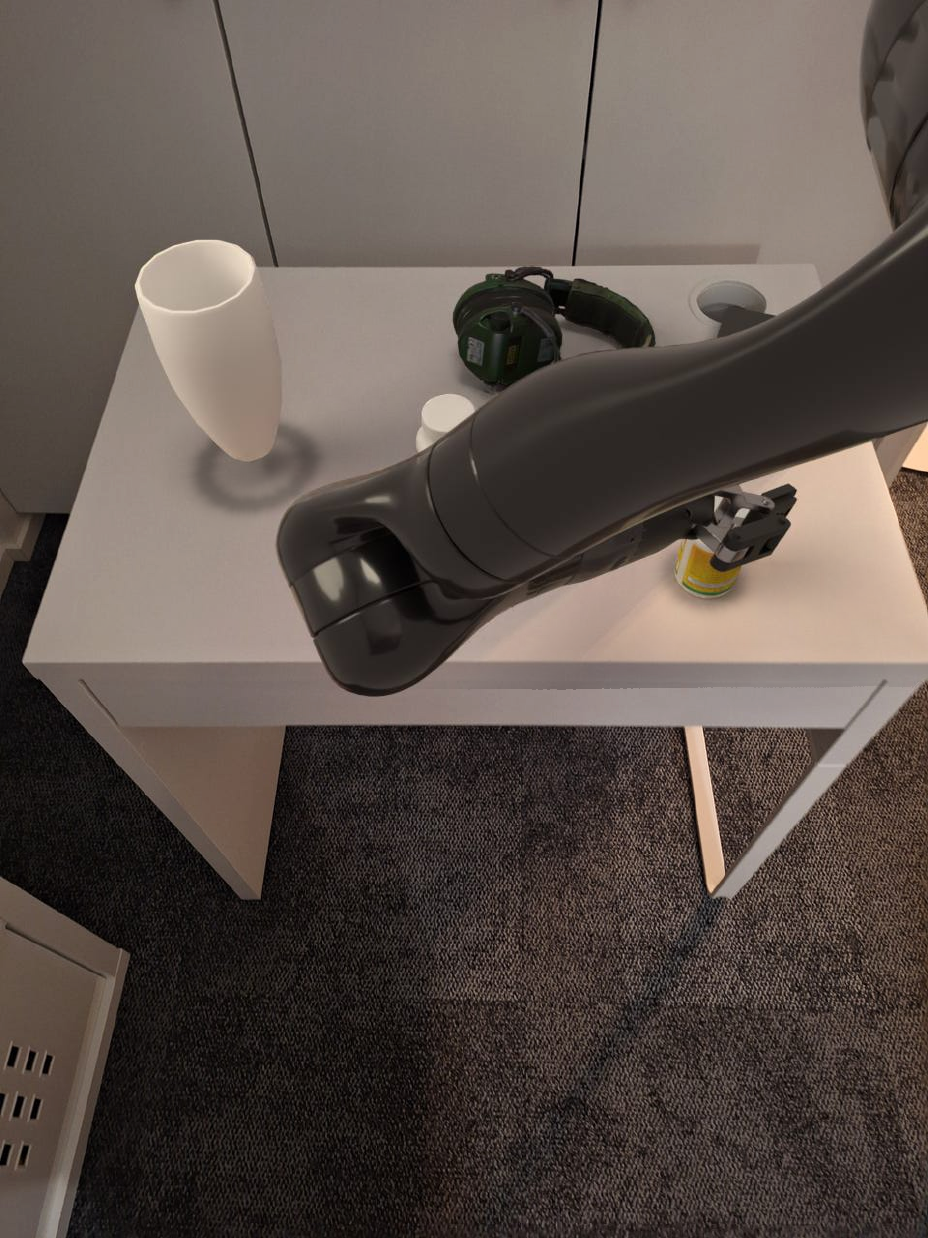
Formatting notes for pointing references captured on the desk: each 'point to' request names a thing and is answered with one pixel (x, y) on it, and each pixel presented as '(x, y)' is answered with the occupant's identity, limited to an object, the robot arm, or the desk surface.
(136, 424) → the desk surface
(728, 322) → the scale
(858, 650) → the desk surface
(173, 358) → the cup
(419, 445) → the pill bottle
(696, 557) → the supplement bottle
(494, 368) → the headphones
